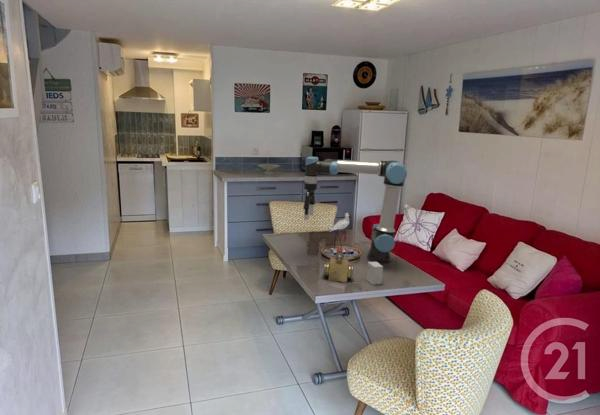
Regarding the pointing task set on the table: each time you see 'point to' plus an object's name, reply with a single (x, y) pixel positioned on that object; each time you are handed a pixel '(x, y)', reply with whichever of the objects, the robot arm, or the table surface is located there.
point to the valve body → (338, 270)
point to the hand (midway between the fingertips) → (308, 217)
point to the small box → (374, 273)
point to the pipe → (351, 270)
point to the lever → (339, 253)
